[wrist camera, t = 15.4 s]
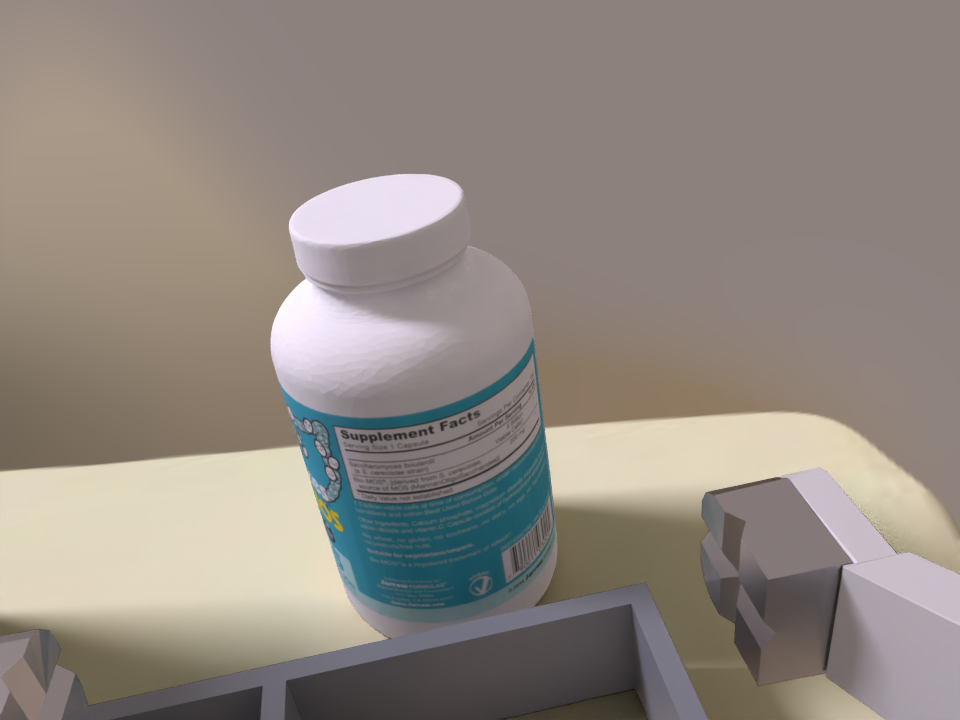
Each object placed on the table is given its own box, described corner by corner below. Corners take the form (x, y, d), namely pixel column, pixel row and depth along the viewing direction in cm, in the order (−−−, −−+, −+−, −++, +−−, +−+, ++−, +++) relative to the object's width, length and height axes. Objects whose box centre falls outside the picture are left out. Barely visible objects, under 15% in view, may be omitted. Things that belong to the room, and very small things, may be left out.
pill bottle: (363, 507, 32) (273, 172, 25) (554, 491, 32) (515, 142, 25) (329, 669, 26) (196, 281, 19) (567, 653, 25) (519, 244, 18)
